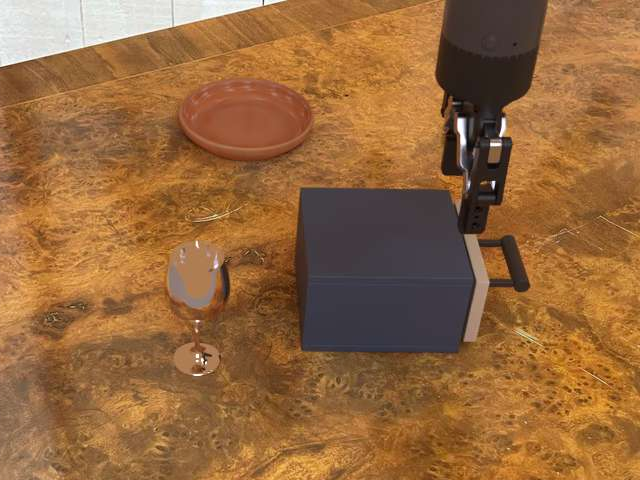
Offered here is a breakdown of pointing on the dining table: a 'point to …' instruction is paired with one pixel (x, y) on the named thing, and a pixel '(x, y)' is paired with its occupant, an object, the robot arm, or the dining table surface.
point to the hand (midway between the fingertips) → (461, 201)
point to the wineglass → (197, 299)
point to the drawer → (481, 278)
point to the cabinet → (380, 270)
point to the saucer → (246, 118)
